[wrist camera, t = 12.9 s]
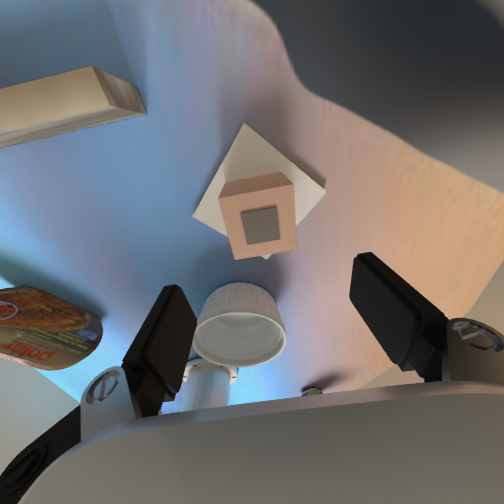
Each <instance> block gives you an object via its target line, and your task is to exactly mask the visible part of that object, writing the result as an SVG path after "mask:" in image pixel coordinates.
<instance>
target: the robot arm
mask: <svg viewBox="0 0 504 504" xmlns="http://www.w3.org/2000/svg"><path fill="white" fill-rule="evenodd" d="M349 297H350V300H351V302H352V304H353V305H354V307H355V308H356V310H357V311H358V312H359V314H360V315H361V317H362V318H363V320H364V321H365V323H366V324H367V326H368V327H369V329H370V330H371V332H372V333H373V335H374V336H375V338H376V339H377V341H378V342H379V343H380V345H381V346H382V348H383V349H384V351H385V352H386V354H387V355H388V357H389V358H390V360H391V361H392V362H393V363H394V364H398V366H399V367H400V369H401V370H402V371H403V372H404V371H412V370H416V372H417V373H418V375H419V376H420V383H416V384H405V385H395V386H385V387H377V388H369V389H360V390H352V391H343V392H335V393H326V394H318V395H310V396H302V397H293V398H285V399H277V400H269V401H261V402H253V403H245V404H237V405H230V406H229V396H230V385H232V384H233V383H234V382H235V381H236V380H237V377H238V371H237V368H236V367H226V366H221V365H217V364H214V363H212V362H209V361H207V360H205V359H204V358H198V359H194V360H191V361H189V362H188V363H187V361H188V357H189V353H190V349H191V346H192V342H193V338H194V334H195V330H196V327H197V319H196V317H195V315H194V313H193V311H192V309H191V307H190V305H189V303H188V301H187V299H186V297H185V295H184V293H183V291H182V289H181V287H178V286H177V285H169V286H165V287H164V288H163V289H162V291H161V293H160V295H159V296H158V298H157V300H156V302H155V304H154V305H153V307H152V309H151V311H150V312H149V314H148V316H147V318H146V319H145V321H144V323H143V325H142V327H141V328H140V330H139V332H138V334H137V335H136V337H135V339H134V341H133V343H132V344H131V346H130V348H129V350H128V351H127V353H126V355H125V357H124V358H123V360H122V361H123V363H122V365H121V367H119V366H114V367H111V368H108V369H106V370H105V371H103V372H101V373H100V374H99V375H98V376H96V377H95V378H94V379H93V380H92V381H91V382H90V383H89V385H88V386H87V388H86V389H85V391H84V393H83V395H82V397H81V404H80V405H79V406H78V407H76V408H75V409H74V410H73V411H71V412H70V413H69V414H68V415H67V416H65V417H64V418H62V419H61V420H60V421H59V422H57V423H56V424H55V425H54V426H52V427H51V428H50V429H49V430H47V431H46V432H45V433H43V434H42V435H41V436H40V437H38V438H37V439H36V440H35V441H33V442H32V443H31V444H30V445H28V446H27V447H26V448H25V449H24V450H23V451H21V452H20V453H19V454H18V455H17V456H16V457H15V458H14V459H13V460H12V462H11V463H10V464H9V465H8V466H7V467H6V469H5V470H4V472H3V473H2V474H1V476H0V504H504V336H503V335H502V334H501V333H500V332H498V331H497V330H495V329H494V328H492V327H490V326H488V325H486V324H484V323H482V322H478V321H476V320H472V319H467V318H454V319H451V320H449V319H448V318H447V317H446V316H444V315H445V314H444V313H443V312H441V311H440V310H439V309H438V308H437V307H436V306H434V305H433V304H432V303H431V302H430V301H428V300H427V299H426V298H425V297H424V296H423V295H421V294H420V293H419V292H418V291H417V290H415V289H414V288H413V287H412V286H411V285H410V284H408V283H407V282H406V281H405V280H404V279H403V278H401V277H400V276H399V275H398V274H397V273H395V272H394V271H393V270H392V269H391V268H390V267H388V266H387V265H386V264H385V263H384V262H383V261H381V260H380V259H379V258H378V257H377V256H375V255H374V254H373V253H372V252H366V253H360V254H358V255H357V257H355V258H354V261H353V269H352V277H351V285H350V294H349ZM182 380H183V381H184V382H186V385H185V389H184V393H183V397H182V398H181V406H180V410H179V412H177V413H170V414H162V412H161V407H162V404H163V402H169V401H174V399H175V395H176V393H178V392H179V390H180V387H181V384H182Z"/></svg>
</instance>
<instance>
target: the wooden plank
mask: <svg viewBox="0 0 504 504" xmlns="http://www.w3.org/2000/svg"><path fill="white" fill-rule="evenodd" d="M146 114H147V113H146V110H145V108H144V105H143V103H142V100H141V98H140V95H139V92H138V90H137V87H136V86H134V85H132V84H130V83H128V82H126V81H124V80H121V79H119V78H117V77H115V76H113V75H111V74H108V73H106V72H104V71H102V70H100V69H98V68H95V67H93V66H88V67H84V68H80V69H76V70H72V71H68V72H64V73H60V74H57V75H53V76H49V77H45V78H41V79H37V80H33V81H29V82H25V83H21V84H17V85H13V86H9V87H6V88H2V89H0V148H2V147H7V146H11V145H16V144H20V143H24V142H29V141H33V140H37V139H42V138H46V137H50V136H55V135H59V134H63V133H68V132H72V131H77V130H81V129H85V128H90V127H94V126H98V125H103V124H107V123H111V122H116V121H120V120H124V119H129V118H133V117H137V116H142V115H146Z"/></svg>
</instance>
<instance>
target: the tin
mask: <svg viewBox="0 0 504 504" xmlns="http://www.w3.org/2000/svg"><path fill="white" fill-rule="evenodd" d="M102 335H103V327H102V323H101V321H100V320H99V318H98V317H97V316H95V315H94V314H93V313H90V312H88V311H86V310H84V309H82V308H79V307H77V306H75V305H72V304H70V303H68V302H65V301H63V300H61V299H59V298H57V297H54V296H52V295H50V294H48V293H46V292H43V291H41V290H38V289H34V288H26V287H12V288H5V289H0V358H4V359H7V360H11V361H14V362H18V363H21V364H25V365H28V366H31V367H35V368H38V369H42V370H60V369H64V368H67V367H70V366H72V365H75V364H76V363H78V362H80V361H81V360H83V359H84V358H86V357H87V356H89V355H90V354H91V353H92V352H93V351H94V350H95V349H96V348H97V346H98V345H99V343H100V341H101V339H102Z"/></svg>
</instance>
